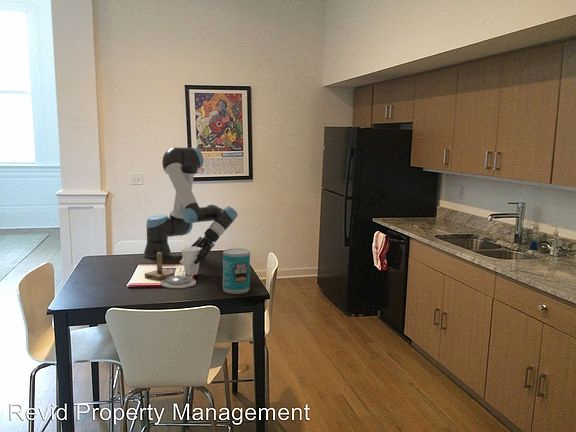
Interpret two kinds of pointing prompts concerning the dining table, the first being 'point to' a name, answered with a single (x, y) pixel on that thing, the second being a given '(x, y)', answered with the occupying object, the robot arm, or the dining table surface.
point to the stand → (159, 271)
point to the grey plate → (178, 282)
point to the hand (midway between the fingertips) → (185, 266)
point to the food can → (236, 271)
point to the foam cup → (190, 259)
